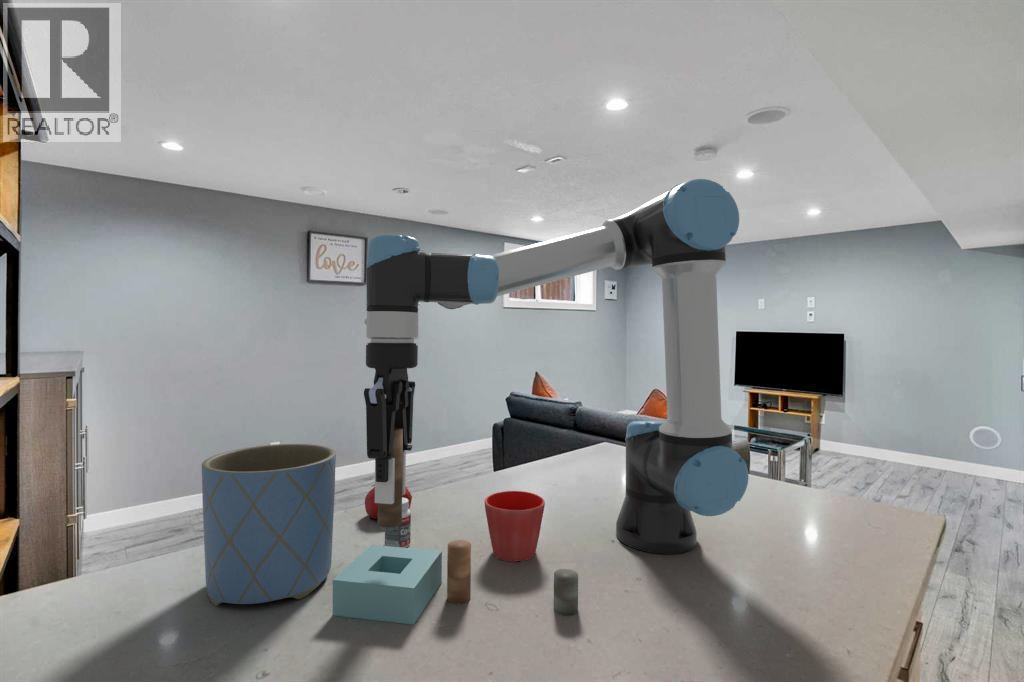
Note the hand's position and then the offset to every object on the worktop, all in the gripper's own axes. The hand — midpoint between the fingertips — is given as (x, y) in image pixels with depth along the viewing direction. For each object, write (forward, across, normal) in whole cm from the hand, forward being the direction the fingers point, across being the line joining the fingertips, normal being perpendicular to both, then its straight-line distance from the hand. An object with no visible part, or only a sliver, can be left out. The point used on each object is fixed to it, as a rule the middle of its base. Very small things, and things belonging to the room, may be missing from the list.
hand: (390, 497), depth 75 cm
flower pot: (+15, -19, +16) cm, 29 cm away
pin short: (+15, -2, +26) cm, 30 cm away
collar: (+15, 0, 0) cm, 15 cm away
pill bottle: (+15, -18, -6) cm, 25 cm away
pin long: (+4, 0, 0) cm, 4 cm away
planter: (+15, -1, -20) cm, 25 cm away
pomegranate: (+15, -32, -14) cm, 38 cm away
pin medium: (+15, -2, +10) cm, 18 cm away
